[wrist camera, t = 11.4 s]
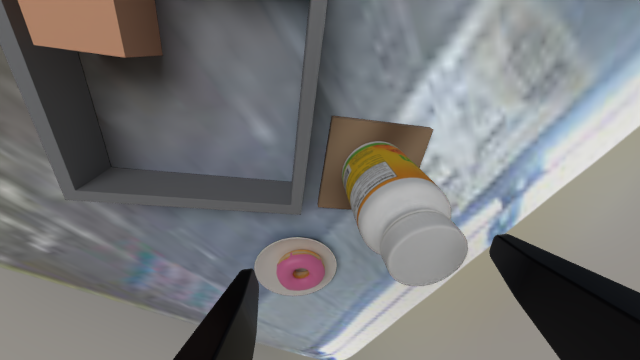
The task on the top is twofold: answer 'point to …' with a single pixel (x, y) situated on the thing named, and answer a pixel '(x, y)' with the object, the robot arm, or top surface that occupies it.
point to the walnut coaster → (355, 134)
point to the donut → (295, 266)
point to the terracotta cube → (95, 26)
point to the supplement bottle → (402, 215)
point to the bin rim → (132, 184)
